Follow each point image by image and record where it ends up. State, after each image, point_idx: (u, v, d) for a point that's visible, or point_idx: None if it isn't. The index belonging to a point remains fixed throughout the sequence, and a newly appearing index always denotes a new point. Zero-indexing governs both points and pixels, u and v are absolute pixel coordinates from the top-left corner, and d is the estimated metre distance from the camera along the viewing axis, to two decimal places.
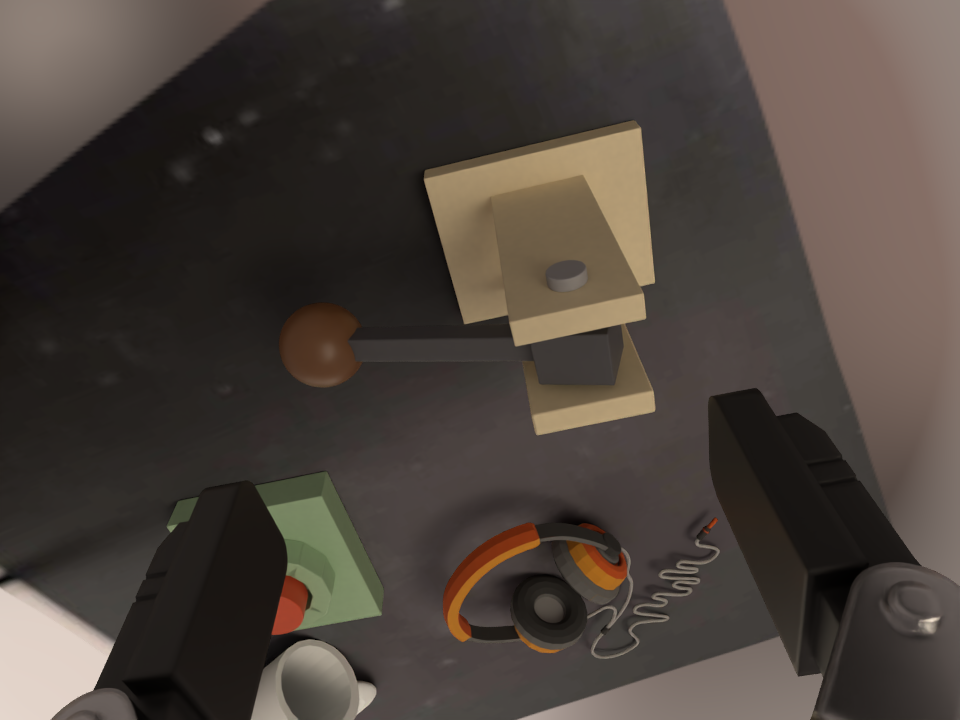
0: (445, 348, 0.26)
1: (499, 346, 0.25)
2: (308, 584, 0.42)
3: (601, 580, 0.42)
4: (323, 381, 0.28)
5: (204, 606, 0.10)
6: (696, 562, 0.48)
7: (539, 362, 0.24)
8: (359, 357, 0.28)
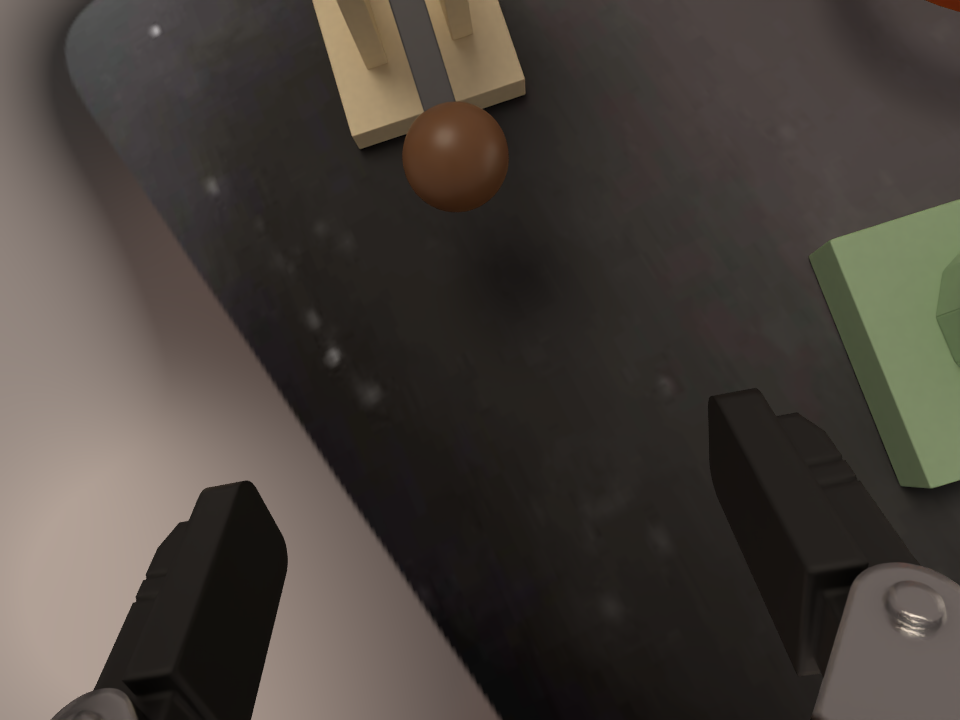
0: None
1: None
2: None
3: None
4: (473, 128, 0.21)
5: (204, 606, 0.10)
6: None
7: None
8: (446, 95, 0.22)
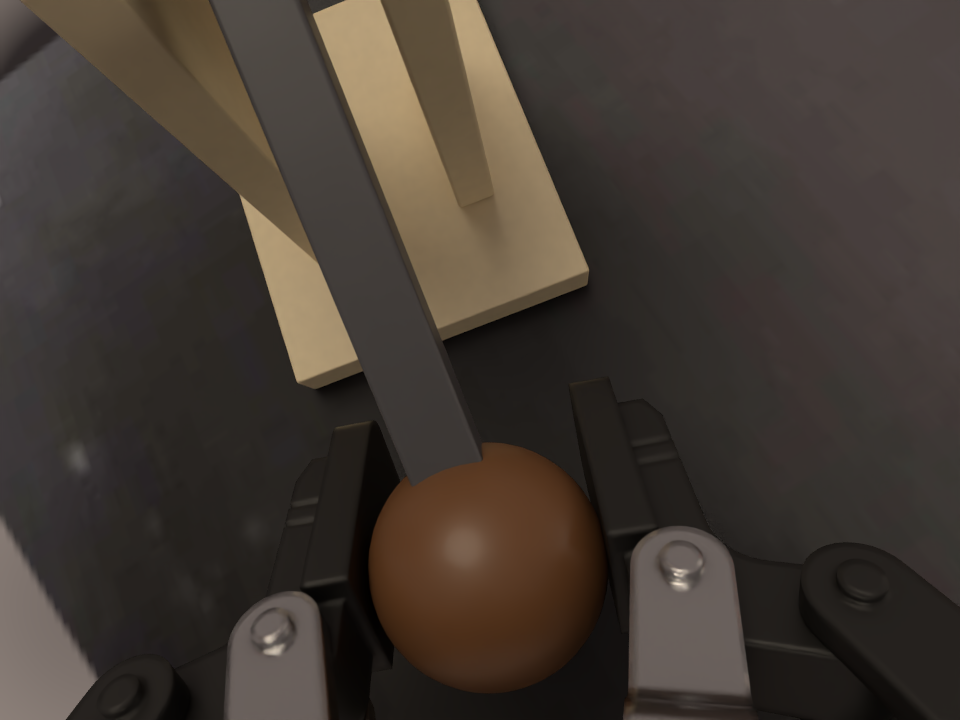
0: (321, 187, 0.09)
1: (247, 22, 0.09)
2: None
3: None
4: (532, 557, 0.09)
5: (360, 526, 0.10)
6: None
7: None
8: (460, 449, 0.10)
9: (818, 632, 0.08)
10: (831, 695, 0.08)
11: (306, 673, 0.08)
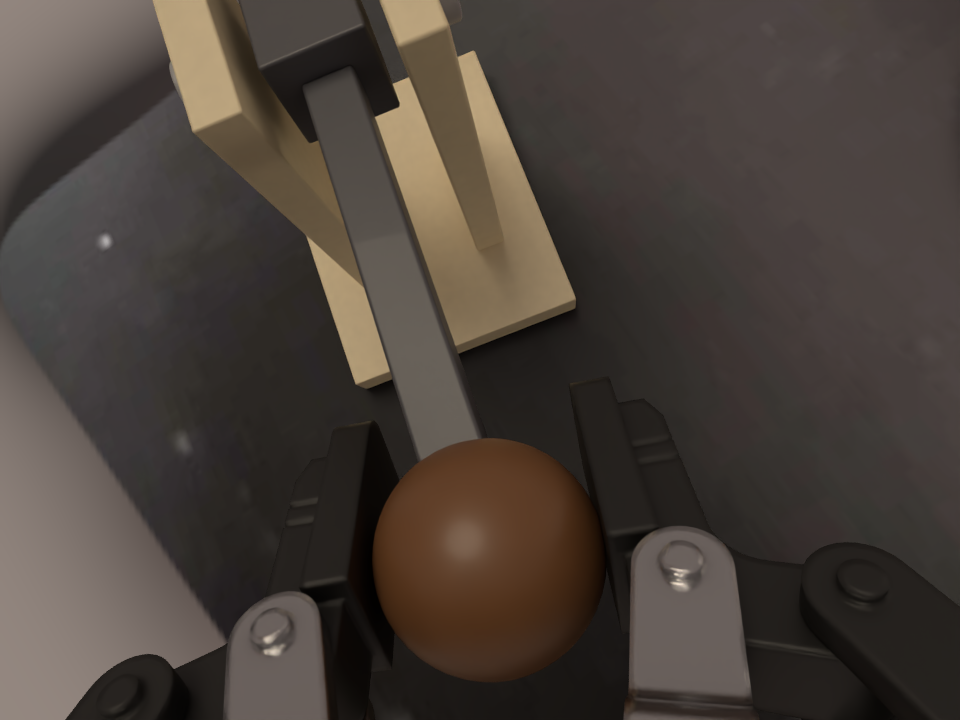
0: (370, 229, 0.12)
1: (336, 134, 0.13)
2: None
3: None
4: (512, 494, 0.09)
5: (359, 526, 0.10)
6: None
7: (310, 37, 0.13)
8: (463, 428, 0.11)
9: (819, 632, 0.08)
10: (831, 695, 0.08)
11: (306, 673, 0.08)
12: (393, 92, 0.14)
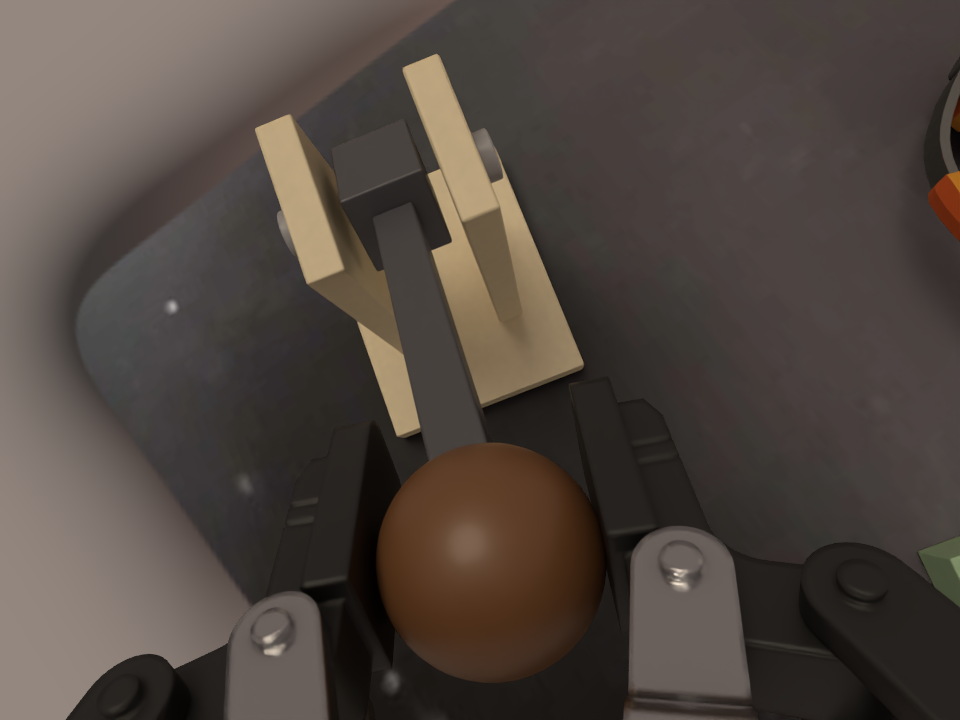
0: (411, 302, 0.14)
1: (393, 244, 0.16)
2: None
3: None
4: (504, 464, 0.10)
5: (360, 526, 0.10)
6: None
7: (380, 179, 0.17)
8: (472, 440, 0.12)
9: (818, 632, 0.08)
10: (831, 695, 0.08)
11: (306, 673, 0.08)
12: (446, 228, 0.18)
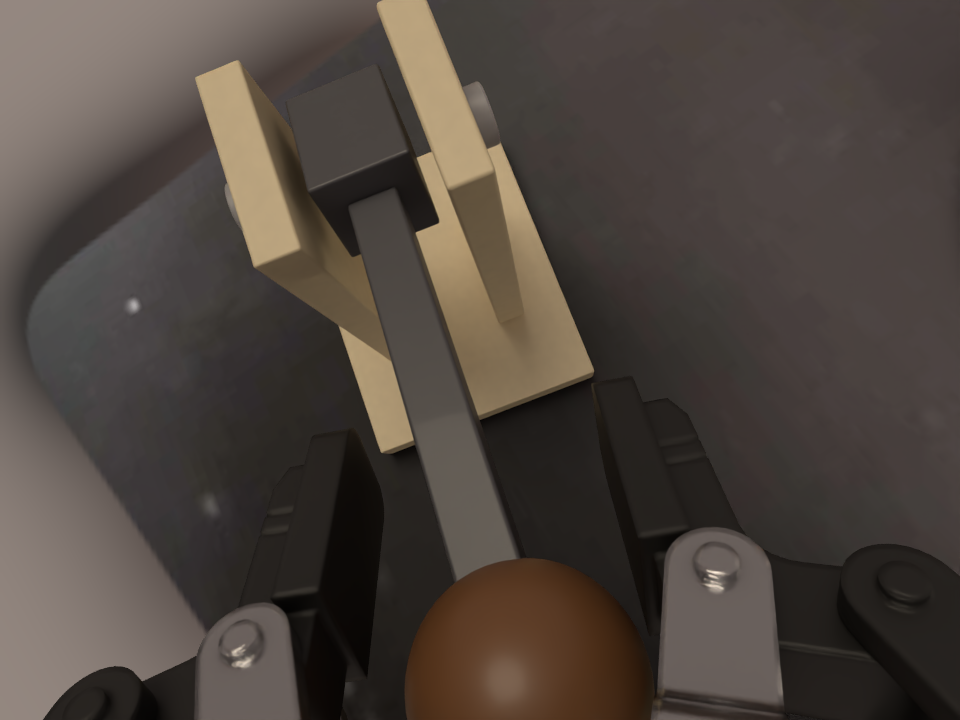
0: (410, 342, 0.12)
1: (378, 250, 0.13)
2: None
3: None
4: (554, 623, 0.09)
5: (334, 536, 0.10)
6: None
7: (357, 162, 0.13)
8: (501, 546, 0.10)
9: (857, 635, 0.08)
10: (870, 699, 0.08)
11: (277, 683, 0.08)
12: (433, 210, 0.15)
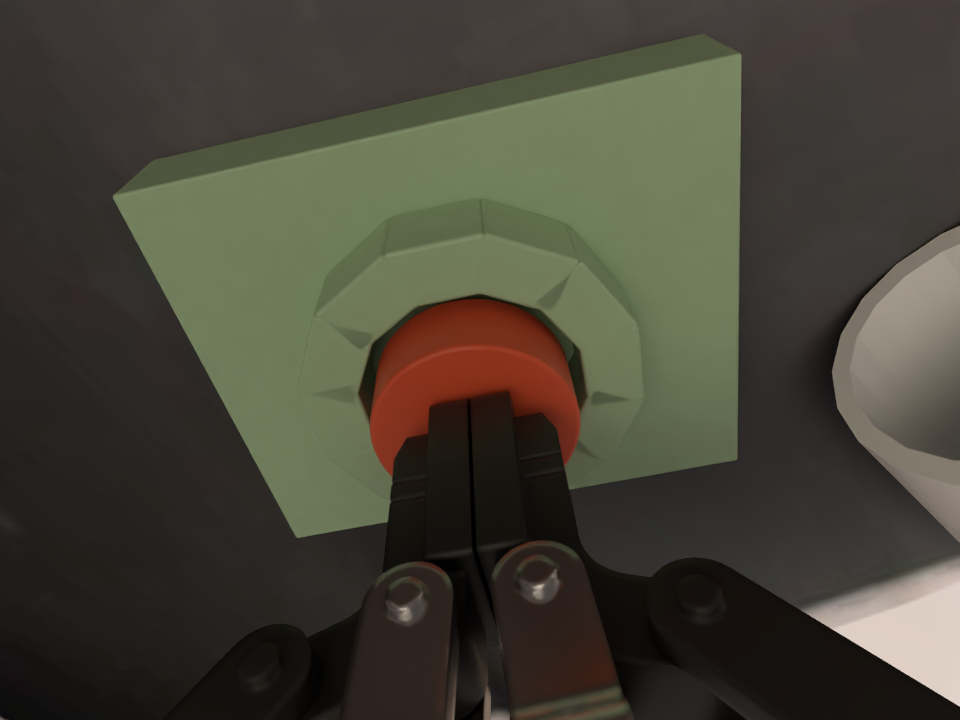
0: None
1: None
2: (414, 300, 0.12)
3: None
4: None
5: (472, 500, 0.10)
6: None
7: None
8: None
9: (662, 645, 0.08)
10: (677, 706, 0.08)
11: (430, 654, 0.08)
12: None
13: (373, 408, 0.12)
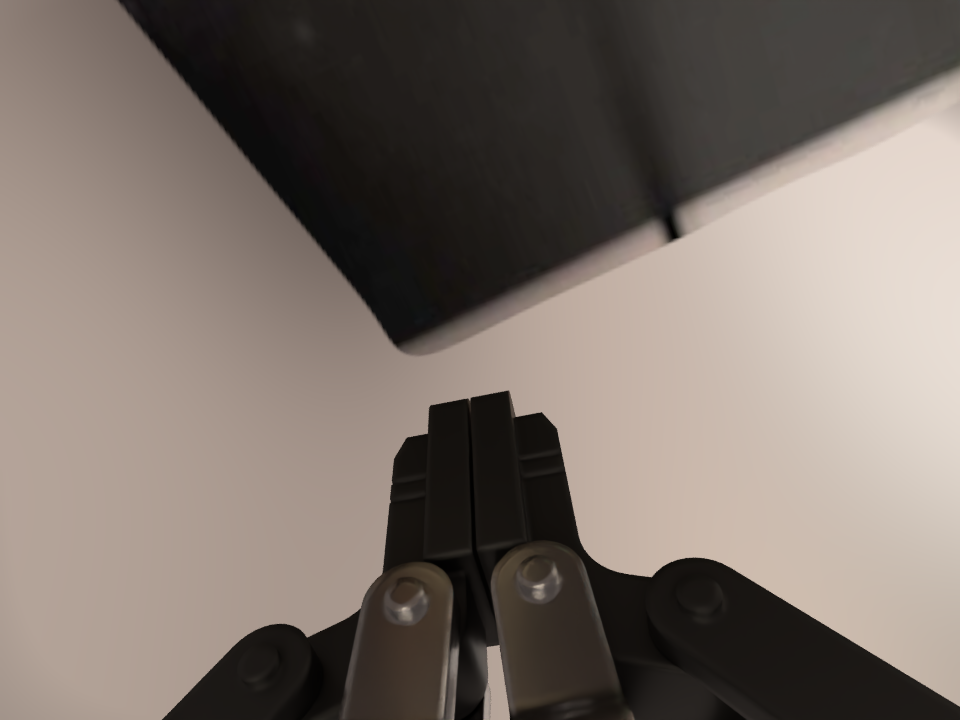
0: None
1: None
2: None
3: None
4: None
5: (472, 500, 0.10)
6: None
7: None
8: None
9: (661, 645, 0.08)
10: (677, 706, 0.08)
11: (430, 654, 0.08)
12: None
13: None
